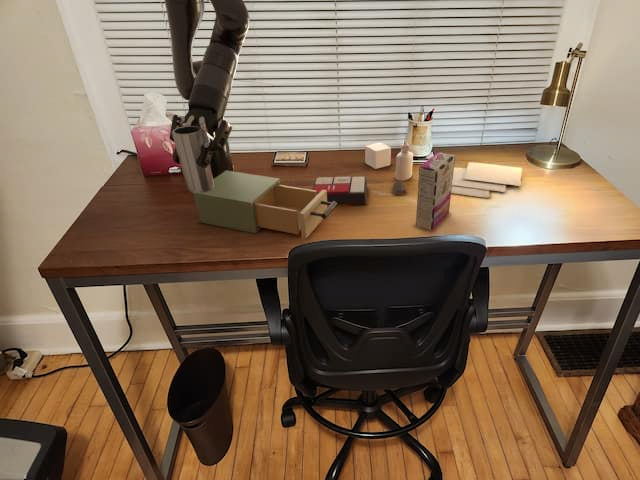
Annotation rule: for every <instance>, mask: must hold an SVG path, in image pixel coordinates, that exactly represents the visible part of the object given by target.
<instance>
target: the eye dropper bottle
mask: <svg viewBox="0 0 640 480" xmlns="http://www.w3.org/2000/svg"><path fill="white" fill-rule="evenodd" d="M413 163H414V153H413V152H412V151H410V144H409V143H408V140H407V139H404V140H403V143H401V145H400V152H398V153H397V155H396V157H395V175H394V177H395V180H396V181H402V182H404V181H407V180H410V179H411V178H412V176H413Z"/></svg>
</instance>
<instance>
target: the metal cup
mask: <svg viewBox="0 0 640 480" xmlns="http://www.w3.org/2000/svg"><path fill="white" fill-rule="evenodd" d="M193 132H194V133H193ZM172 135H173V138H174V142H175V143H174V142H173V143H174V146H175V147H176V150H177V153H178V157H179V161H180V164H179V165H180V166H181V168H182V169H181V172H182V176H183V179H184V183H185V186H186V189H187V191H188V192H189V193H191V194H193V193H204V192H207V191H210V190H212V189H213V188H214V181H213V176H212V172H211V167H210V164H209V165H208V166H207V168H202V167H201V166H199V165H198V161H199V158H200V155H201V152H202V148H205V147H204V139H203V132H202V128H201V127H199V126H183V127H179V128H176V129H174V130H173V131H172Z"/></svg>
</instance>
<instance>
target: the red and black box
mask: <svg viewBox="0 0 640 480" xmlns="http://www.w3.org/2000/svg"><path fill="white" fill-rule="evenodd" d="M367 179H368V178H367V176H352V177H351V176H334V177H333V176H321V177H319V176H318V177H316V179H315V181H314V184H313V187H312V190H316V191H317V195H318V194H319V193H320V192H321V191H322V190H327V202H333V201H336V202H337V205H342V204H343V205H344V204H348V205H351V206H365V205H366V204H367V194H368V192H367V191H368V183H367V182H368V181H367Z"/></svg>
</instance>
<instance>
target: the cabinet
mask: <svg viewBox="0 0 640 480" xmlns="http://www.w3.org/2000/svg"><path fill="white" fill-rule="evenodd" d="M213 181H214V188H213V189H212V190H210V191H207V192H204V193H192V194H193V197H194V202H195V206H196V210H197V214H198V218H199V221H200V223H202V224H207V225H211V226H217V227H222V228H226V229H232V230H237V231H242V232H247V233H252V234H257V233H259V231H260V230H261V229H262V227H257V226H256V220H255V214H254V208H253V204H254V203H255V202H256V201H257V200H259V199H260V198H261V197H262V196H263V195H265V194H266V193H267V192H268V191H269V190H270V189H272V188H273V187H274V186H275V185H276V184H278V185H282V184H281V178H278V177H272V176H265V175H259V174H252V173H246V172H240V171H234V172H233V171H227V170H226V171H225V172H223V173H222V174H220V175H219V176H217V177H216V178H214V179H213Z"/></svg>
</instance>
